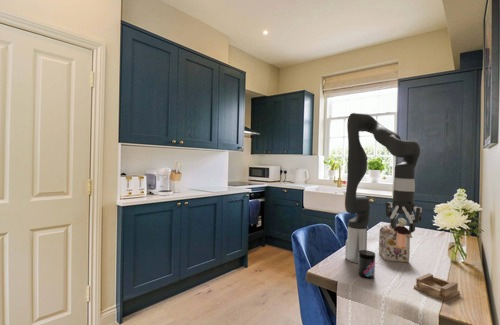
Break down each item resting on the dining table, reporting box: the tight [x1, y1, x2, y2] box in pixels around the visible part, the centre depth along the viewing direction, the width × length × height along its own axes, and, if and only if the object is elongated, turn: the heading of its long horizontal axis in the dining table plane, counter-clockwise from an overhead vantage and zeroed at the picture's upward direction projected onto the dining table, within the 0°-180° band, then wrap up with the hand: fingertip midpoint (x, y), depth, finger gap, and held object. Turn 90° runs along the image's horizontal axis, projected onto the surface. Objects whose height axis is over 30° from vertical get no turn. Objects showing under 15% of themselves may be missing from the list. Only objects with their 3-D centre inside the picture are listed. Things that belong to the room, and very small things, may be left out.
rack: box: [413, 273, 461, 302], centre depth 104 cm, size 11×12×4 cm
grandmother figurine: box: [392, 217, 413, 250], centre depth 107 cm, size 8×4×13 cm, turn 45°
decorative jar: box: [378, 223, 411, 263], centre depth 139 cm, size 12×12×18 cm
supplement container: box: [357, 249, 376, 280], centre depth 116 cm, size 7×7×10 cm
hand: (402, 229), depth 107 cm, fingers closed on grandmother figurine, 6 cm apart
